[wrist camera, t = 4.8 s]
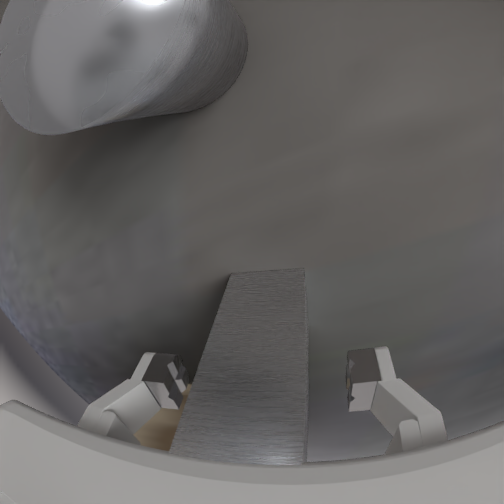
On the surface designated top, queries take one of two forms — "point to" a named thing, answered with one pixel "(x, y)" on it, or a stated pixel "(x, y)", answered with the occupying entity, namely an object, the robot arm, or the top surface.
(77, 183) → the top surface
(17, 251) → the top surface
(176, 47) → the round bit
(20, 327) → the top surface
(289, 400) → the square bit
